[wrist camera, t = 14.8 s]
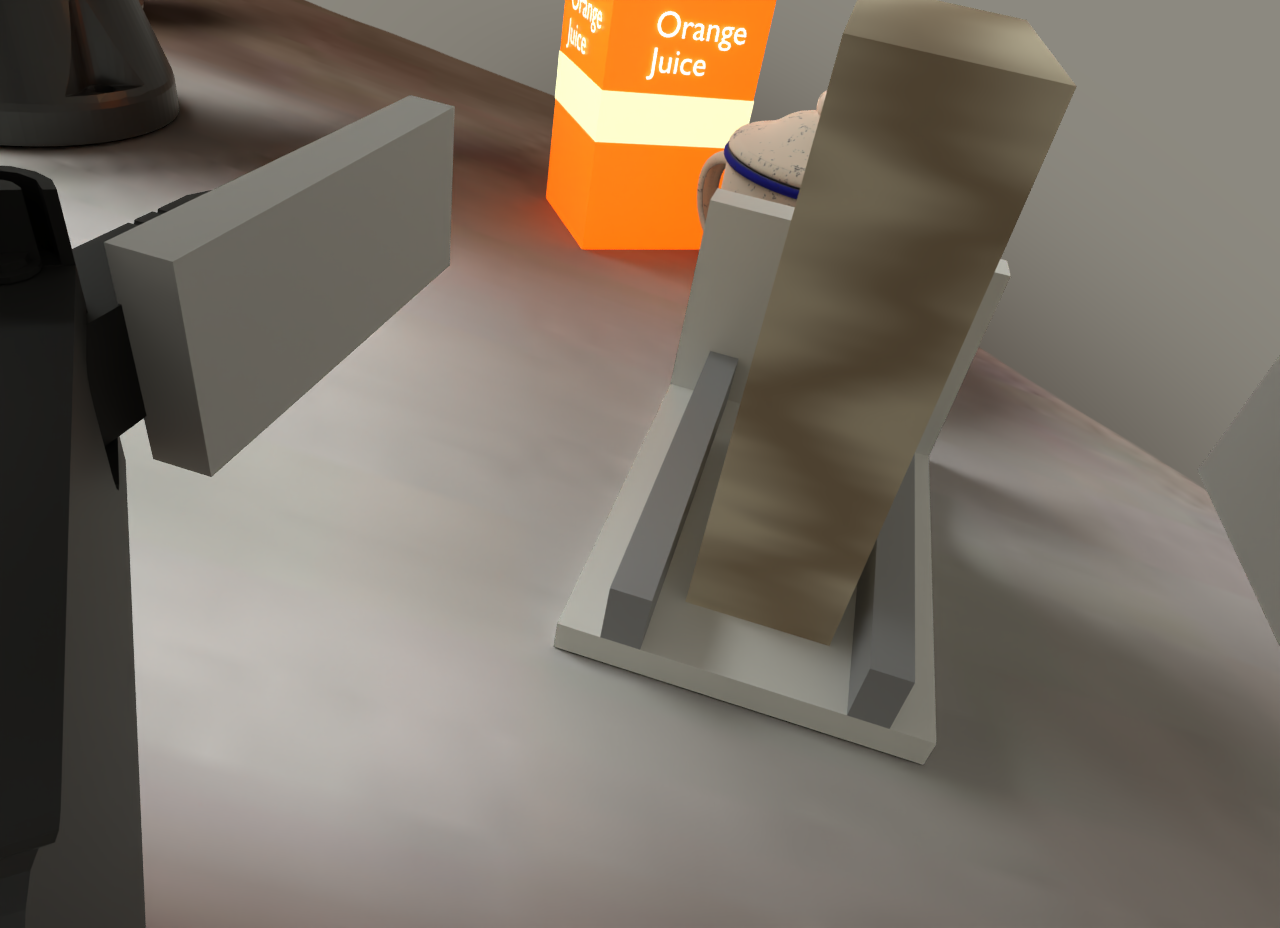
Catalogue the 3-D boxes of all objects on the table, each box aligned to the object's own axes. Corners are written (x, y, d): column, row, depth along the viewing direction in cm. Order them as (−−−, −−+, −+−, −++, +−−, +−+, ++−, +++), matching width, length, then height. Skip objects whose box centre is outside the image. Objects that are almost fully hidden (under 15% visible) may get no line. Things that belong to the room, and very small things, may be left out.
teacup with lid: (898, 359, 44) (991, 125, 37) (772, 397, 39) (851, 135, 32) (743, 260, 51) (796, 48, 44) (619, 281, 46) (657, 45, 39)
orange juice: (721, 250, 51) (815, -157, 40) (581, 250, 48) (637, -194, 36) (672, 199, 57) (741, -171, 45) (543, 196, 54) (582, -204, 42)
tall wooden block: (685, 601, 26) (843, 33, 17) (734, 444, 33) (864, -16, 24) (829, 646, 26) (1076, 86, 16) (847, 477, 33) (1026, 20, 23)
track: (923, 764, 24) (1070, 526, 19) (553, 646, 25) (593, 390, 20) (919, 455, 37) (1007, 260, 31) (674, 386, 38) (717, 187, 33)
